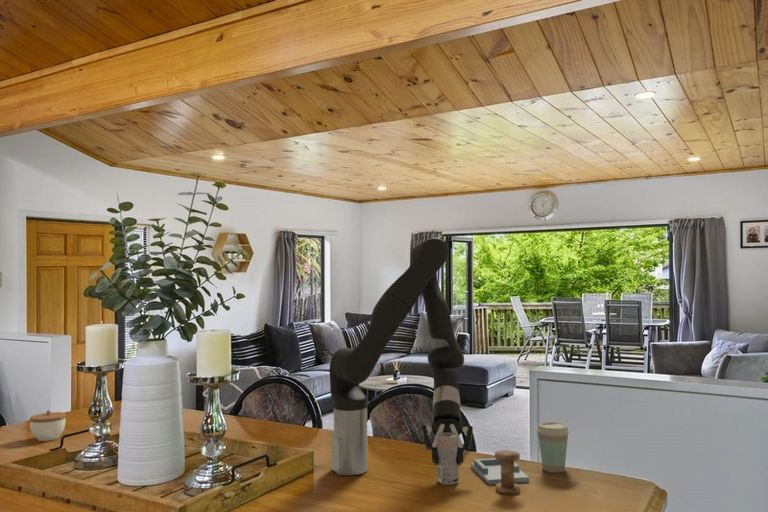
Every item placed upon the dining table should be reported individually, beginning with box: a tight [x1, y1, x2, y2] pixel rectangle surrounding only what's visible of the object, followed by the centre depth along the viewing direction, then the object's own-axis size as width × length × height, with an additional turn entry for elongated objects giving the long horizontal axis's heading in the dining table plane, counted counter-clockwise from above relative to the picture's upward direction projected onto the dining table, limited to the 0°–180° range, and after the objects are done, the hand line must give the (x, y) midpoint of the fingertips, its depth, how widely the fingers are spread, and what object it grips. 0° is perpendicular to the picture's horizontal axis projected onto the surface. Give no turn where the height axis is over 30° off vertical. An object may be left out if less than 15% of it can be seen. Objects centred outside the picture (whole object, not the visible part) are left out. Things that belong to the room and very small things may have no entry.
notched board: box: [470, 457, 530, 486], centre depth 162 cm, size 14×11×2 cm
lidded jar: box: [29, 409, 67, 442], centre depth 205 cm, size 11×11×9 cm
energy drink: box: [436, 433, 459, 486], centre depth 157 cm, size 5×5×12 cm
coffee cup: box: [536, 421, 570, 474], centre depth 166 cm, size 8×8×12 cm
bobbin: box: [494, 449, 521, 496], centre depth 150 cm, size 6×6×9 cm
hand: (447, 463), depth 155 cm, fingers closed on energy drink, 5 cm apart
